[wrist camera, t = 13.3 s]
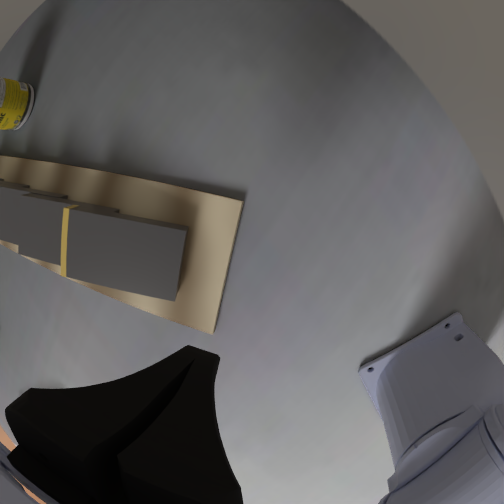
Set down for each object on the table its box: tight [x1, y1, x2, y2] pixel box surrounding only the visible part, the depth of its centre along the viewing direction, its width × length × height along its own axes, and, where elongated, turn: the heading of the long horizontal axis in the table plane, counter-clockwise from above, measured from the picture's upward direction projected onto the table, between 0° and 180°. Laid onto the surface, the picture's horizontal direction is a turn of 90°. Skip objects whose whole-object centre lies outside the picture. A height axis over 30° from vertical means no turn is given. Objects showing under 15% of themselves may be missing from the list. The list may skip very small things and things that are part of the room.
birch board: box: [0, 155, 244, 335], centre depth 22 cm, size 34×10×1 cm, turn 77°
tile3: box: [0, 184, 68, 245], centre depth 20 cm, size 2×5×9 cm
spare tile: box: [61, 205, 189, 302], centre depth 19 cm, size 2×5×9 cm
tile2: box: [18, 193, 120, 266], centre depth 20 cm, size 2×5×9 cm
